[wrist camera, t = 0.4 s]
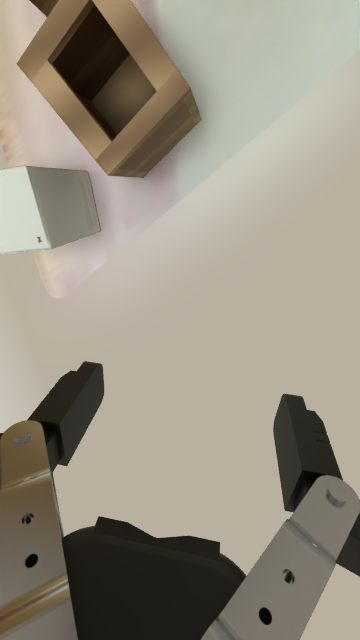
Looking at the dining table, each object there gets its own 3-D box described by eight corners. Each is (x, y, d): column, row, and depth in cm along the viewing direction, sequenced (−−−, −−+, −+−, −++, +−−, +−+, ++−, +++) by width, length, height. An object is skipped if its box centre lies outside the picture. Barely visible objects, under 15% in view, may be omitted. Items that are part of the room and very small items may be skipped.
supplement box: (89, 169, 36) (28, 163, 25) (101, 232, 39) (52, 252, 28) (34, 176, 38) (-48, 174, 26) (50, 236, 41) (-17, 257, 29)
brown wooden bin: (83, 102, 34) (16, 63, 23) (140, 30, 30) (94, -54, 19) (142, 177, 36) (107, 175, 25) (201, 119, 33) (190, 87, 22)
